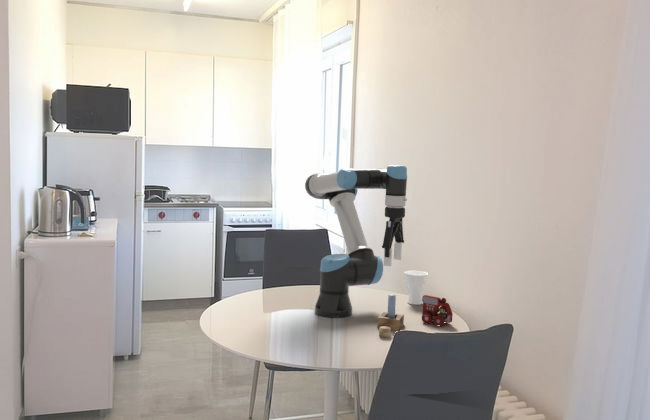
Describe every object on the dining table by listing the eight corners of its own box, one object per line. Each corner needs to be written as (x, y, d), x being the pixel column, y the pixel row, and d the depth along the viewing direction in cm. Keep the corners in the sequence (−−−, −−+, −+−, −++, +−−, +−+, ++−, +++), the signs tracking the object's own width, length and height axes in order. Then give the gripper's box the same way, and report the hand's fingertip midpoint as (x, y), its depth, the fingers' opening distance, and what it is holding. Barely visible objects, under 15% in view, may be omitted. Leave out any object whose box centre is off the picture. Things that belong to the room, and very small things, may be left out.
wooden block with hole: (377, 327, 212) (377, 317, 212) (383, 322, 220) (383, 312, 219) (398, 330, 210) (398, 320, 209) (403, 324, 217) (403, 314, 217)
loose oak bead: (377, 337, 202) (378, 328, 202) (380, 333, 206) (381, 325, 205) (388, 338, 201) (389, 330, 200) (391, 335, 204) (391, 327, 204)
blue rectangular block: (386, 326, 214) (387, 295, 213) (388, 324, 216) (389, 294, 215) (393, 327, 213) (394, 296, 212) (395, 325, 216) (396, 294, 214)
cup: (430, 302, 251) (432, 272, 250) (421, 307, 242) (422, 276, 241) (408, 298, 257) (410, 269, 255) (398, 303, 248) (400, 273, 247)
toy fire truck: (447, 328, 214) (448, 301, 213) (417, 322, 221) (418, 296, 220) (454, 324, 220) (456, 298, 219) (425, 318, 227) (426, 292, 226)
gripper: (395, 210, 200) (393, 269, 202) (413, 204, 223) (410, 257, 225) (375, 208, 202) (372, 267, 205) (394, 203, 225) (391, 255, 228)
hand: (392, 262), depth 215 cm, fingers open, 13 cm apart
